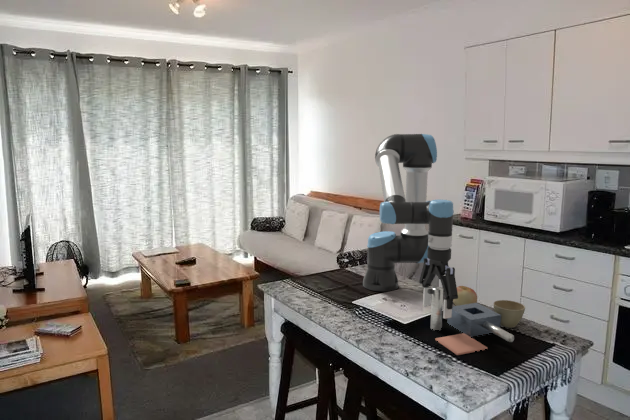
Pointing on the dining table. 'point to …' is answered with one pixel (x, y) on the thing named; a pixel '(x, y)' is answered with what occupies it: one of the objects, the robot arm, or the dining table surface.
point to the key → (436, 307)
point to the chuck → (477, 321)
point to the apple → (465, 296)
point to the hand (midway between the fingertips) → (436, 311)
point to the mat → (461, 344)
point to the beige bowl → (509, 312)
